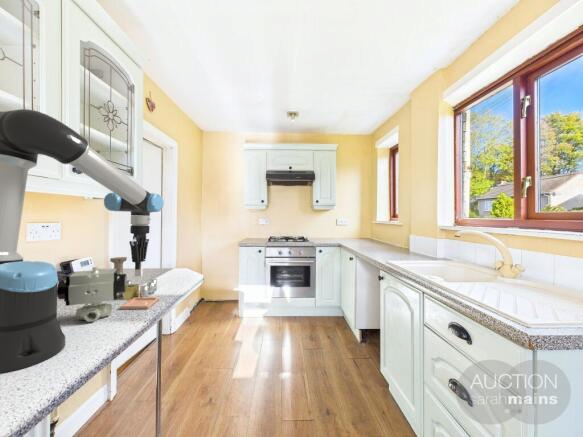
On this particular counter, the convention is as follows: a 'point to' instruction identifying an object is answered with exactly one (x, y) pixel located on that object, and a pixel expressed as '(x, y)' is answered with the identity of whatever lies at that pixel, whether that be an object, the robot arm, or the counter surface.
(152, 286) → the spacers
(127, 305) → the dish
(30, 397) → the counter surface
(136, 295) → the nut
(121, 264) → the handle
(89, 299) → the ball valve
